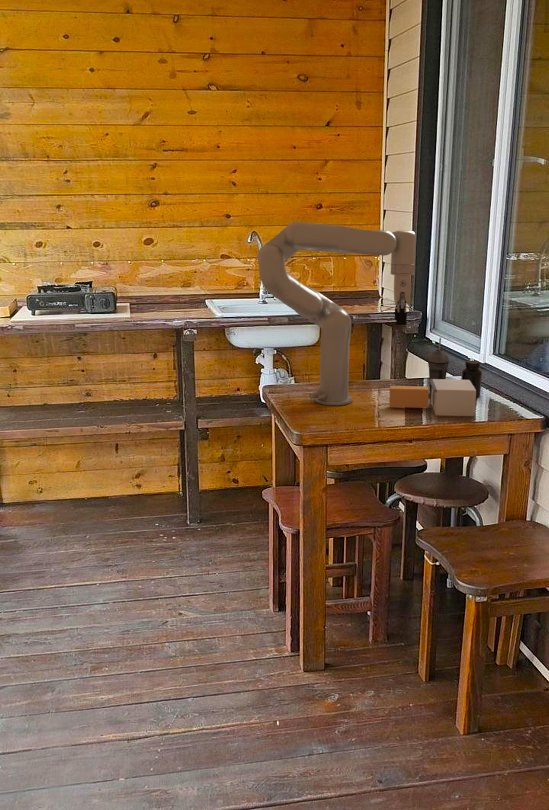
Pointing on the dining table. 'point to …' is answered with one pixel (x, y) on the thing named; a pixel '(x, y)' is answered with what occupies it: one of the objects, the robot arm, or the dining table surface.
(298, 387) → the dining table surface
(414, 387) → the orange rectangular block
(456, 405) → the beige rectangular block
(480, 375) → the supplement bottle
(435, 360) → the beverage cup
